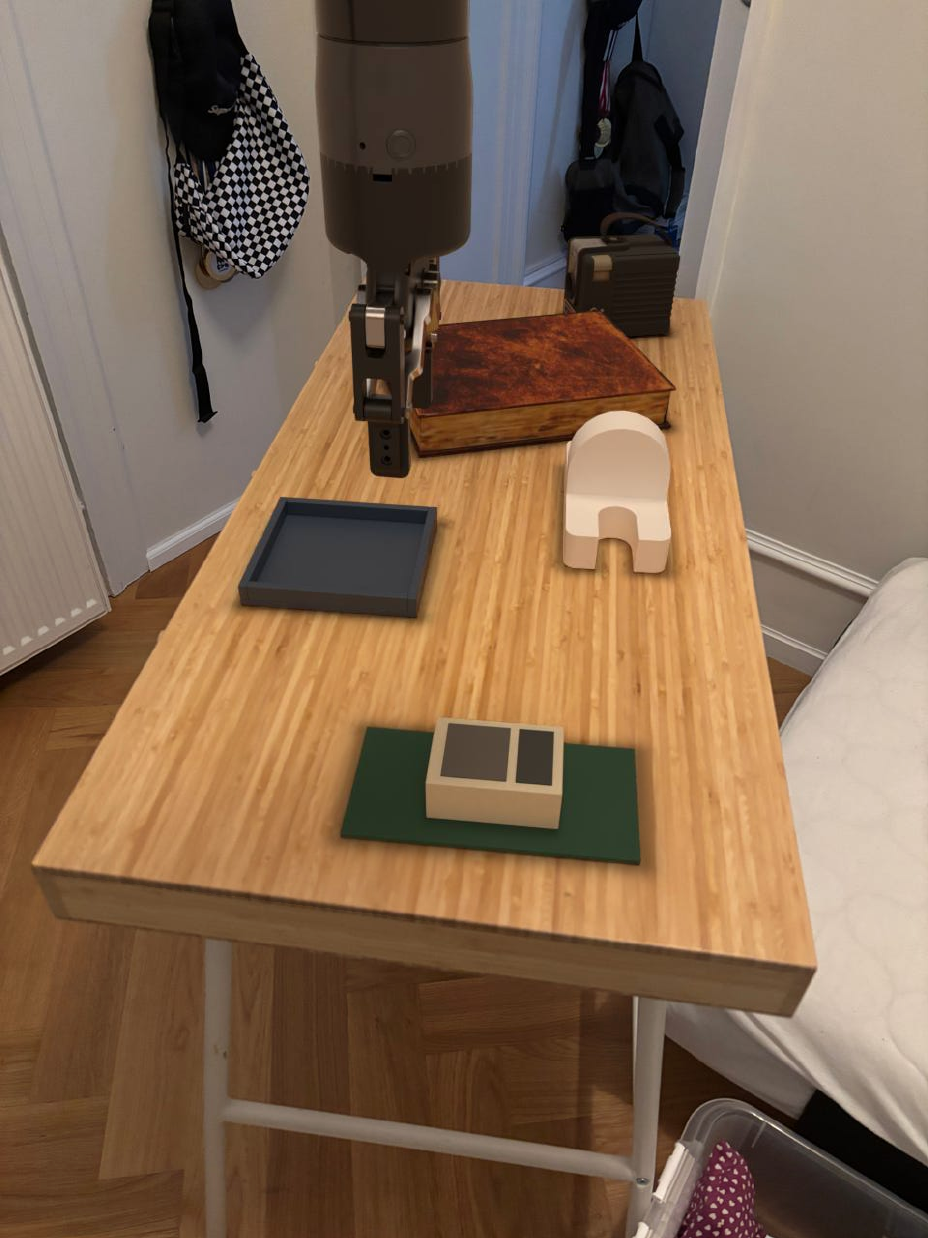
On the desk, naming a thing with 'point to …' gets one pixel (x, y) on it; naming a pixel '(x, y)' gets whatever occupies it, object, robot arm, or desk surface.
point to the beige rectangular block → (495, 773)
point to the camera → (623, 278)
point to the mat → (588, 823)
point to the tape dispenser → (617, 490)
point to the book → (532, 382)
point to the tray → (341, 557)
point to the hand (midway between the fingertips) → (403, 438)
